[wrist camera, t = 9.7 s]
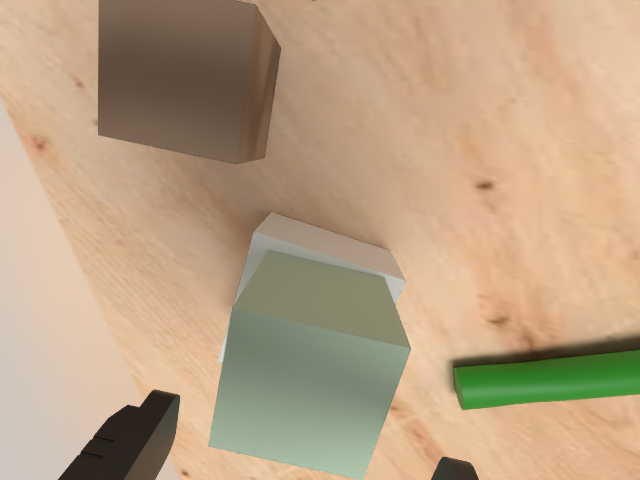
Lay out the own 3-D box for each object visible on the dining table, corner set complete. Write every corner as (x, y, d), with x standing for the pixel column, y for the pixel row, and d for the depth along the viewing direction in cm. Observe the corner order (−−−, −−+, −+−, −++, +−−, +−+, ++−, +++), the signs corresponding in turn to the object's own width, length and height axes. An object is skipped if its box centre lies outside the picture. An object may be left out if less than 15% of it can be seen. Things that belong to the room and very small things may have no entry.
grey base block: (272, 211, 21) (253, 231, 16) (389, 249, 21) (405, 280, 17) (241, 316, 23) (217, 362, 18) (348, 349, 24) (352, 402, 19)
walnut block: (174, 25, 18) (98, -30, 12) (281, 48, 18) (256, 4, 12) (167, 137, 20) (98, 135, 14) (264, 157, 20) (235, 164, 14)
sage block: (268, 249, 16) (232, 307, 11) (384, 277, 17) (411, 348, 11) (248, 349, 18) (208, 446, 12) (354, 374, 18) (362, 480, 12)
